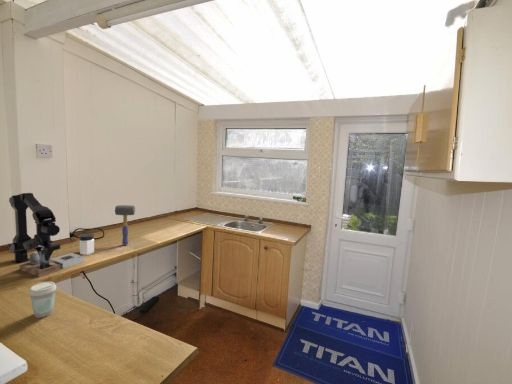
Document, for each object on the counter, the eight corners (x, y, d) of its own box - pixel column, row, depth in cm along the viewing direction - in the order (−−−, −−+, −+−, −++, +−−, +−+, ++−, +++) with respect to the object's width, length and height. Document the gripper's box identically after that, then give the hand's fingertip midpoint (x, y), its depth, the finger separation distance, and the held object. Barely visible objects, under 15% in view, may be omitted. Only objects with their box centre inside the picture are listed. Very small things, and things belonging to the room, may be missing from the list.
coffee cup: (26, 321, 97) (24, 292, 96) (35, 309, 105) (33, 282, 104) (53, 317, 101) (52, 289, 100) (60, 306, 109) (59, 279, 107)
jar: (97, 250, 173) (97, 233, 171) (90, 254, 165) (90, 237, 163) (83, 250, 172) (83, 233, 170) (76, 254, 164) (75, 236, 162)
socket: (49, 264, 148) (49, 259, 147) (71, 257, 159) (71, 252, 159) (62, 268, 143) (62, 263, 143) (84, 261, 154) (83, 256, 154)
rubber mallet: (114, 246, 181) (114, 206, 178) (117, 243, 188) (117, 204, 185) (133, 246, 185) (133, 206, 181) (135, 243, 192) (135, 204, 188)
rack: (19, 269, 139) (18, 253, 138) (40, 263, 148) (40, 248, 147) (39, 277, 132) (38, 260, 131) (60, 270, 141) (59, 254, 140)
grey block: (38, 268, 137) (37, 248, 136) (46, 265, 141) (46, 245, 139) (42, 269, 135) (42, 249, 134) (51, 267, 139) (50, 247, 138)
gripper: (14, 232, 132) (16, 261, 133) (36, 239, 125) (37, 269, 127) (39, 228, 142) (40, 254, 144) (60, 233, 135) (61, 261, 137)
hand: (44, 259), depth 137 cm, fingers closed on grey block, 4 cm apart
